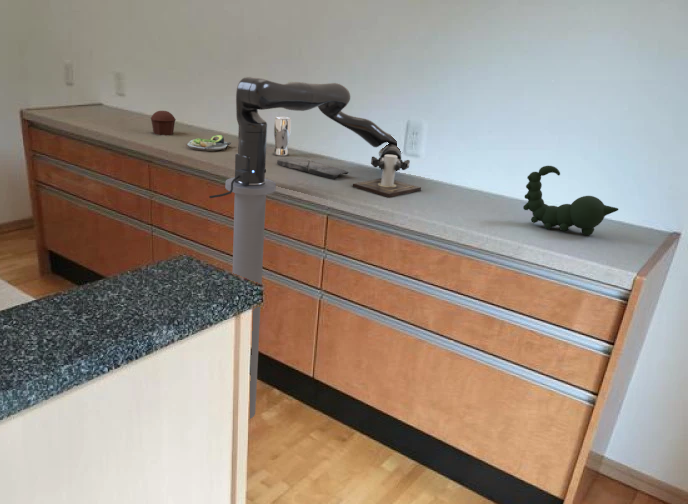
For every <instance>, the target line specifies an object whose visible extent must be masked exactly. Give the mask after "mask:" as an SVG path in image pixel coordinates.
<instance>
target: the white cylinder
mask: <svg viewBox="0 0 688 504" xmlns="http://www.w3.org/2000/svg"><path fill="white" fill-rule="evenodd" d="M396 163H397V156H396V155H389V154H387V155H384V163H383V170H382V172H381V178H382V179H381V178H380V179H381V185H384V186H393V185H394V180H395V177H396V172H397V171H396Z"/></svg>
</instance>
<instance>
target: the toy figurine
mask: <svg viewBox="0 0 688 504" xmlns="http://www.w3.org/2000/svg"><path fill="white" fill-rule="evenodd" d="M548 174H556V175H557V176H561V171H560V170H559V169H558V167H555V166H553V165H543V166H542V167H539V170H538V171H532V172H530V173H529V175H527V178H526V179H527V180H528V182H527V184H526V185H525V188H526V189H527V190H528V191H527V192H526V193H525V194H524V199H526V200H527V202H526V203H525V204H524V205H523V210H524V211H530V212H532V217H531V219H530V222H531V223H533V224H535V223H538V222H541V223H542V224H543V227H544V228H545V229H546V230H550V229H551V228H552V227H557V226H558V227H559V230H560V231H561V232H566V231H568V230H569V229H570V227H573V226H574V227H576V228H578V229H580V230H581V233H582V234H583V235H584V236H591V235H592V234H593V233H594V232H595V228H596V227H597V226H599V225H600V224H601V223H602V222H603V221H604V219H605V217H606V216H607V215H610V214H613V213H616V212H618V211H619V208H618V207H614V206H610V205H607V204H605V203H604V202H603V201H602V200H601V199H600V198H598V197H596V196H593V195H583V196H580V197H578V198H576V199H575V200H574V201H572V203H563V204H561V205H559V206H557V205H548V204H546V203H545V201H544V199H543V192H542V190H541V189H542V186H543V184H542V177H544V176H546V175H548Z"/></svg>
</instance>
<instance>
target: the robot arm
mask: <svg viewBox="0 0 688 504" xmlns="http://www.w3.org/2000/svg"><path fill="white" fill-rule="evenodd" d="M350 102H351V93H350V91H349V90H348V88H346V87H345V86H344V85H343V84H341V83H337V82H329V83H328V82H327V83H309V82H304V81H303V82H301V81H289V82H286V83H279V82H275V81H271V80H268V79H264V78H259V77H252V76H245V77H242V78H241V79H240V80H239V81H238V83H237V87H236V93H235V112H236V113H235V114H236V120H237V125H238V136H237V137H238V139H237V153H235V156H234V158H235V160H234V177H235V178H234V177H233V178H234V179H233V180H232V182H231V190H230V191H227V192H224V193H220V194H212V195H209V196H208V197H209V199H214V198H221V197H225V196H227V195H231V194H232V193H233V192H232V191H233V183H234V181H235V183H238V184H241V185H244V186H261V185H264V184H265V179H266V173H267V170H266V163H267V162H266V161H267V143H268V141H267V140H268V122H267V121H266V120H265V119H263V117H261V116H260V113H259V110H260V111H263V110H272V109H285V110H288V111H297V112H306V111H310V110H313V109H315V108H318V109H319V111H320V112H321V113H322V114H323V115H324V116H326V117H327V118H329V119H330V120H331V121H334V122H335V123H337V124H339V125H341V126H342V127H344V128H345V129H348V130H349V131H351V132H353V133H354V134H356V135H357V136H359V137H360V138H361V139H362V140H364V141H365V142H366V143H368V145H370V146H371V147H373V148H379V147H380V146H382V145H383V144H386V143H387V142H388V143H389V144H388V145H386V146H385V147H384V148H382V147H381V148H382V149H381V148H380V150H379V151H378V156H379V157H378V158H377V157H375V156H371V160H370V165H371V166H372V167H374V168H378V169H380V170H382V171H383V163H384V155H387V154H389V155H396V156H397V163H396V171H395V172H398V171H401V170H402V171H406V170H407V169H409V168H410V164H411V163H410V161H411V160H409V159H406V160H404V161H403V159H402V153H401V151H400V149H399V148H398V147H397V141H396V140H395V139H394V138H393V137H392V136H391V135H392V134H390V133H388V132H386V131H385V130H383V129H382V128H381V127H380V126H378V125H377V124H376V123H375V122H373V121H372V120H370V119H367V118H364V117H358V116H353V115H349V114H347V113H345V112H344V111H343V110H344V109H345V108H347V106H348V105H349V103H350Z"/></svg>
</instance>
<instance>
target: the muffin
mask: <svg viewBox="0 0 688 504" xmlns="http://www.w3.org/2000/svg"><path fill="white" fill-rule="evenodd" d="M150 121H151V125H152V133H153V134H154V135H159V136H172V135H173V134H174V131H175V125H176V123H175V122H176V118H175V116H174V115H173V114H172V112H170V111H168V110H158V111H157V110H156V112H154V113H152V115H151V117H150Z"/></svg>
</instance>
